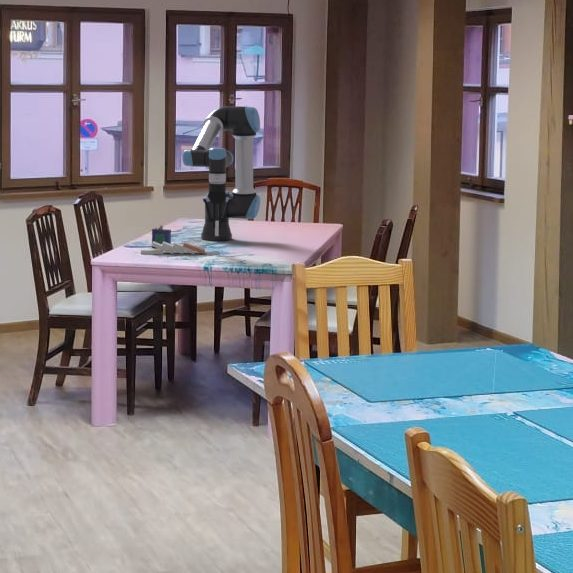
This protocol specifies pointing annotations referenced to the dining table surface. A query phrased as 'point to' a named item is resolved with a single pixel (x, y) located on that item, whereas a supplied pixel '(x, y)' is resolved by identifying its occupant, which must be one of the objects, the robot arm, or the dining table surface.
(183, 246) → the domino
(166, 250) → the domino
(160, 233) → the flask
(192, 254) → the mat
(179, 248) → the domino
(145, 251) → the domino
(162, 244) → the domino
